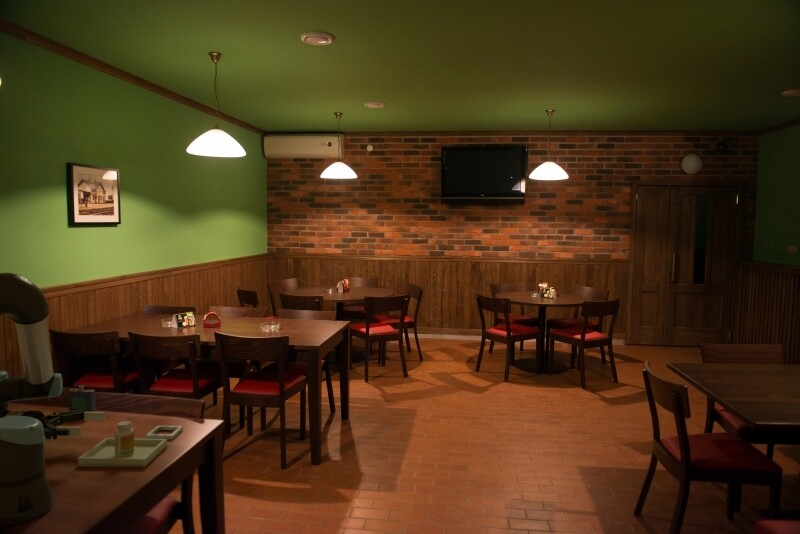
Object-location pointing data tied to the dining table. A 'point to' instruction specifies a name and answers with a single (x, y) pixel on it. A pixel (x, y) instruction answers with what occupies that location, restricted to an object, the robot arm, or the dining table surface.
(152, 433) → the holder ring
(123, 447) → the supplement bottle
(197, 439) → the dining table surface
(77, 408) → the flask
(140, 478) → the dining table surface
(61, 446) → the dining table surface
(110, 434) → the dining table surface
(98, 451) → the tray
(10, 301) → the robot arm
